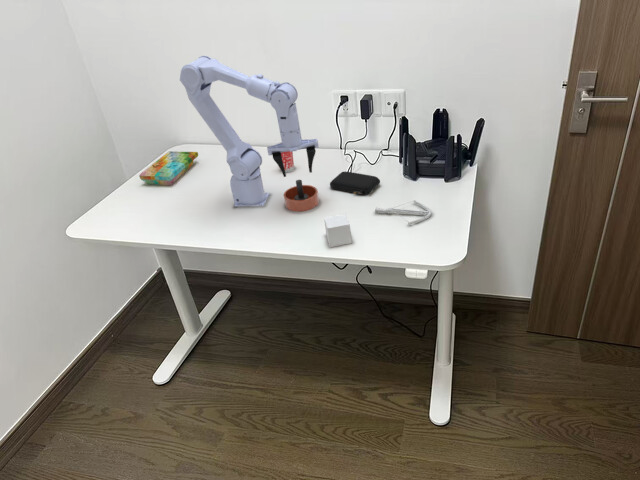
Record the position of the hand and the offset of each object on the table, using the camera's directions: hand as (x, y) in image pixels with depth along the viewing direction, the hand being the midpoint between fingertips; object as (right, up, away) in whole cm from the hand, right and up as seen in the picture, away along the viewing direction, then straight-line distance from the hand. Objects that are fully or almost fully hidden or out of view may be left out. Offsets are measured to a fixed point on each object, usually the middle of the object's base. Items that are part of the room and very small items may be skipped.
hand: (297, 173), depth 160 cm
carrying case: (+17, -3, +12) cm, 21 cm away
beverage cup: (-7, +6, +27) cm, 29 cm away
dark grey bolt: (+1, -8, +6) cm, 10 cm away
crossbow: (+31, -13, -3) cm, 33 cm away
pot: (+1, -8, +6) cm, 11 cm away
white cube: (+13, -20, -12) cm, 27 cm away
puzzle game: (-48, +6, +33) cm, 58 cm away
